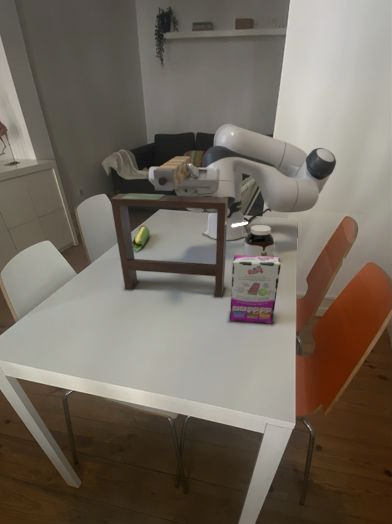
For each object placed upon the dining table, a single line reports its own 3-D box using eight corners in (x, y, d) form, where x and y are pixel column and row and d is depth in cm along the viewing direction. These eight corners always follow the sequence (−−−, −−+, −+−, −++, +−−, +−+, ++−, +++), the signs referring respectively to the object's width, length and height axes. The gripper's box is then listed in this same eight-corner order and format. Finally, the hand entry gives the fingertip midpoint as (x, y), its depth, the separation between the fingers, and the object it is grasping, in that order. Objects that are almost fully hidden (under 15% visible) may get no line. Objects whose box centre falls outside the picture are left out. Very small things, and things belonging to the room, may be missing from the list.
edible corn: (151, 235, 138) (150, 224, 135) (143, 252, 122) (142, 240, 120) (139, 234, 138) (138, 224, 136) (130, 252, 123) (128, 240, 120)
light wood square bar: (176, 173, 89) (175, 156, 86) (190, 173, 88) (190, 156, 86) (153, 191, 71) (152, 171, 68) (171, 191, 70) (170, 171, 68)
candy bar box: (271, 314, 86) (280, 255, 76) (272, 324, 82) (282, 264, 72) (229, 311, 87) (233, 253, 77) (228, 321, 83) (232, 261, 73)
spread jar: (244, 265, 112) (247, 231, 104) (240, 253, 121) (242, 221, 113) (278, 264, 112) (284, 231, 105) (271, 252, 121) (276, 221, 114)
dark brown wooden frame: (131, 280, 103) (118, 192, 87) (223, 287, 98) (228, 196, 82) (125, 289, 98) (110, 198, 82) (221, 297, 94) (225, 202, 78)
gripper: (156, 174, 97) (141, 152, 84) (222, 175, 94) (218, 153, 81) (155, 195, 98) (140, 178, 85) (220, 197, 95) (216, 180, 82)
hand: (179, 166), depth 83 cm, fingers closed on light wood square bar, 4 cm apart
